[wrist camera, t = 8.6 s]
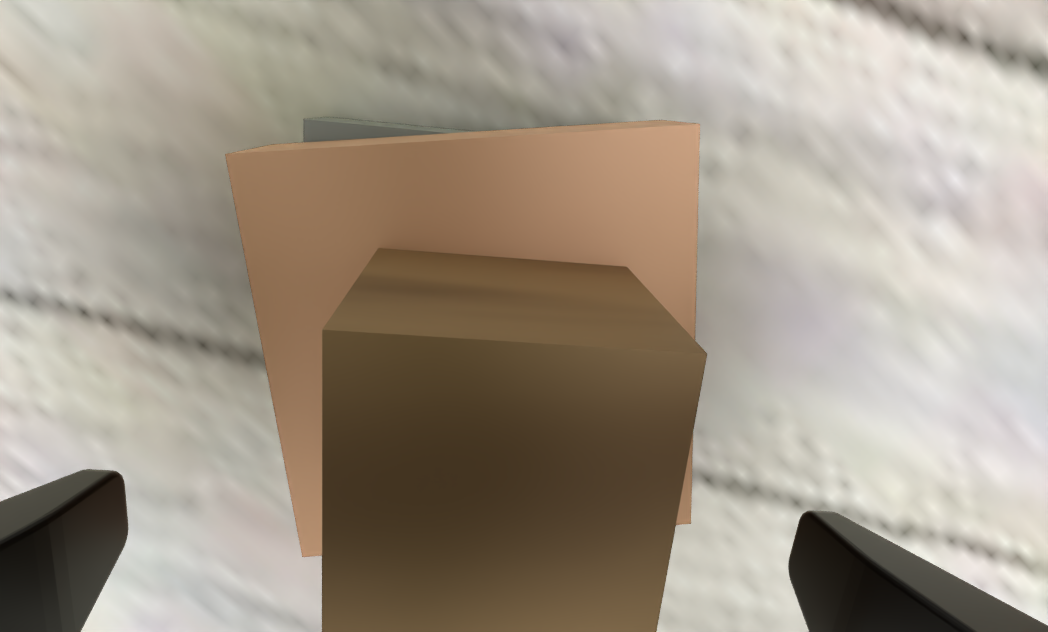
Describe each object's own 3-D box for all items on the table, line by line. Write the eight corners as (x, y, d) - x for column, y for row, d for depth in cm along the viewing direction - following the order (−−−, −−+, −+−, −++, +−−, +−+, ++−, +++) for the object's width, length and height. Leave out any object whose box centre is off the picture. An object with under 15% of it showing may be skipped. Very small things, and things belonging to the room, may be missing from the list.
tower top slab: (658, 458, 18) (690, 523, 16) (330, 485, 18) (302, 557, 15) (660, 120, 16) (699, 123, 13) (272, 144, 15) (225, 154, 12)
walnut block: (596, 481, 15) (651, 655, 10) (372, 471, 15) (322, 649, 10) (626, 266, 14) (708, 353, 9) (378, 248, 13) (322, 329, 8)
